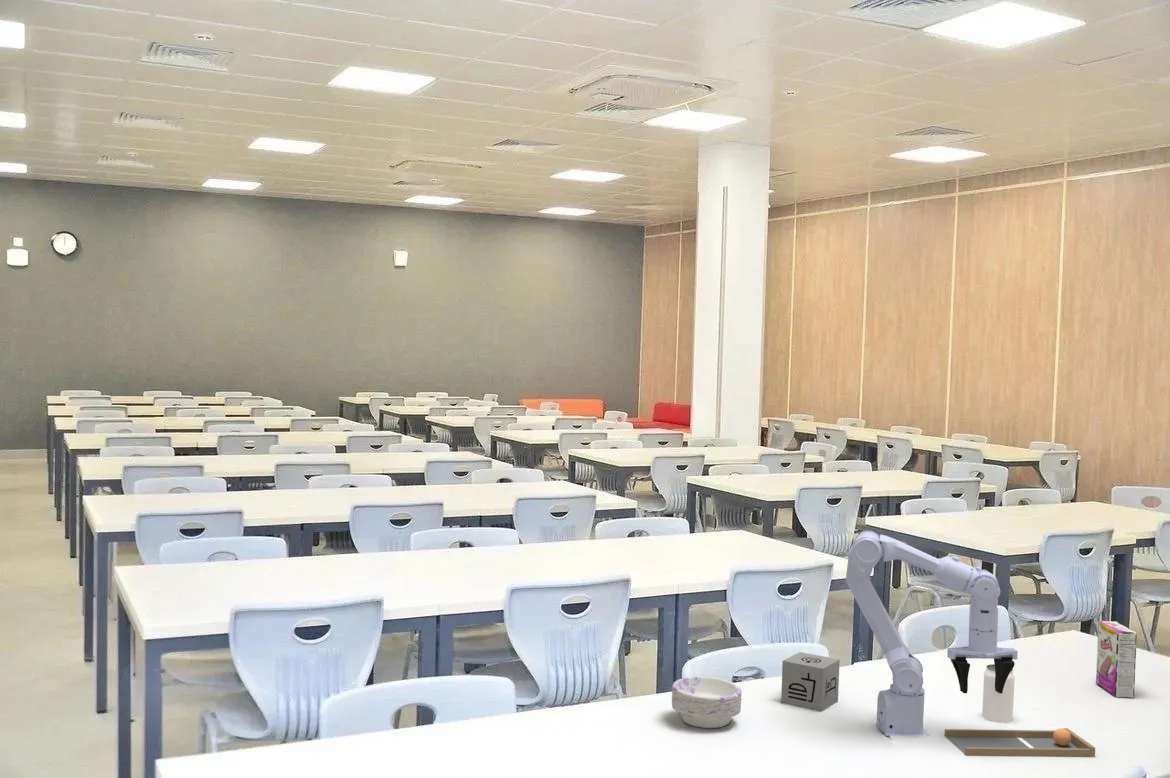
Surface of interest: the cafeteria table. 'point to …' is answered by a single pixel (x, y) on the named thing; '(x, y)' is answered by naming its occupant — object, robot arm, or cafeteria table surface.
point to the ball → (1062, 737)
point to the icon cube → (810, 681)
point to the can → (997, 697)
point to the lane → (1017, 743)
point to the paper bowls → (706, 701)
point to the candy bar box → (1116, 659)
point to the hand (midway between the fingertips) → (981, 692)
